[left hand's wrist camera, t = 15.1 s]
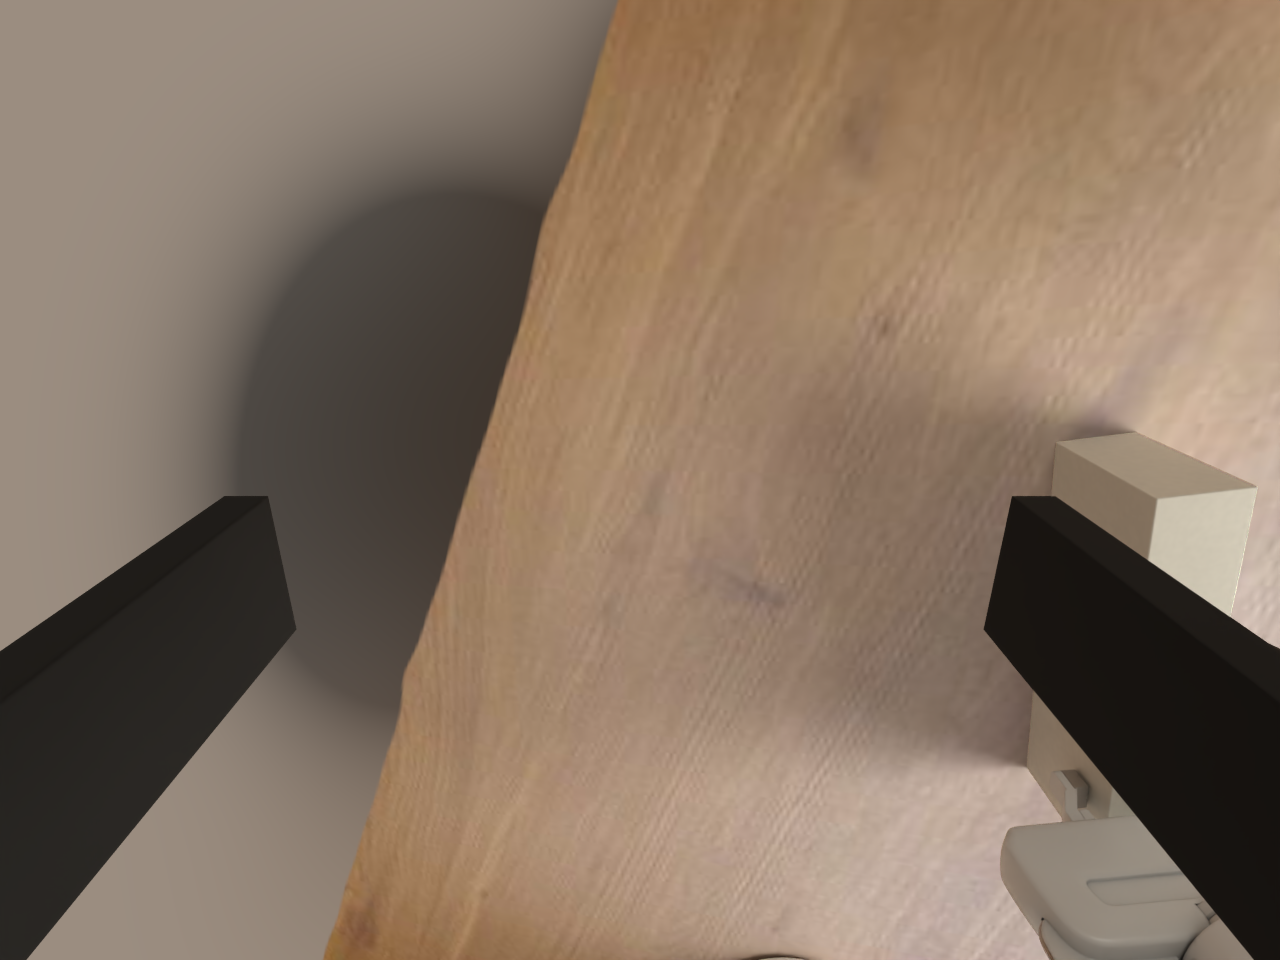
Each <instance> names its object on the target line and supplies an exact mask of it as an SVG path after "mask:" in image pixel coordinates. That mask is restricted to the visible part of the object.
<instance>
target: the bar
mask: <svg viewBox="0 0 1280 960" xmlns="http://www.w3.org/2000/svg"><path fill="white" fill-rule="evenodd" d="M1257 489H1258V487H1257V486H1255V485H1253V484H1251V483H1248V482H1246V481H1244V480H1242V479H1240V478H1237V477H1235V476H1233V475H1231V474H1228V473H1226V472H1224V471H1222V470H1220V469H1217V468H1215V467H1213V466H1211V465H1208V464H1206V463H1204V462H1202V461H1200V460H1197V459H1195V458H1193V457H1191V456H1189V455H1186V454H1184V453H1182V452H1180V451H1177V450H1175V449H1173V448H1171V447H1169V446H1166V445H1164V444H1162V443H1160V442H1157V441H1155V440H1153V439H1151V438H1149V437H1146V436H1144V435H1142V434H1140V433H1138V432H1132V433H1124V434H1116V435H1108V436H1100V437H1092V438H1084V439H1076V440H1067V441H1059V442H1056V446H1055V457H1054V468H1053V479H1052V490H1051V496H1056V497H1057V498H1059V499H1060V500H1062V501H1063V502H1065V503H1066V504H1067V505H1069V506H1070V507H1072V508H1073V509H1075V510H1076V511H1078V512H1079V513H1081V514H1082V515H1083V516H1085V517H1086V518H1088V519H1089V520H1091V521H1092V522H1094V523H1095V524H1096V525H1098V526H1099V527H1101V528H1102V529H1104V530H1105V531H1107V532H1108V533H1109V534H1111V535H1112V536H1114V537H1115V538H1117V539H1118V540H1120V541H1121V542H1122V543H1124V544H1125V545H1127V546H1128V547H1130V548H1131V549H1133V550H1134V551H1135V552H1137V553H1138V554H1140V555H1141V556H1143V557H1144V558H1146V559H1147V560H1148V561H1150V562H1151V563H1153V564H1154V565H1156V566H1157V567H1159V568H1160V569H1161V570H1163V571H1164V572H1166V573H1167V574H1169V575H1170V576H1172V577H1173V578H1174V579H1176V580H1177V581H1179V582H1180V583H1182V584H1183V585H1185V586H1186V587H1188V588H1189V589H1190V590H1192V591H1193V592H1195V593H1196V594H1198V595H1199V596H1201V597H1202V598H1203V599H1205V600H1206V601H1208V602H1209V603H1211V604H1212V605H1214V606H1215V607H1216V608H1218V609H1219V610H1221V611H1222V612H1224V613H1225V614H1227V615H1228V616H1229V617H1231V612H1232V608H1233V603H1234V598H1235V593H1236V589H1237V584H1238V579H1239V574H1240V570H1241V565H1242V560H1243V555H1244V551H1245V546H1246V541H1247V536H1248V532H1249V527H1250V522H1251V517H1252V513H1253V508H1254V503H1255V498H1256V494H1257ZM1026 767H1027V768H1028V770H1029V771H1030V773H1031V774H1032V776H1033V777H1034V778H1035V780H1036V781H1037V783H1038V784H1039V786H1040V787H1041V789H1042V790H1043V791H1044V793H1045V794H1046V796H1047V797H1048V799H1049V800H1050V802H1051V803H1052V804H1053V806H1054V807H1055V809H1056V810H1057V812H1058V813H1059V814H1060V816H1061V817H1062V806H1061V805H1060V803H1059V802H1058V800H1057V799H1056V798H1055V796H1054V795H1053V793H1052V792H1051V789H1050V776H1051V772H1052V771H1061V770H1074V769H1075V770H1076V771H1077V772H1078V773H1079V777H1081V778H1082V779H1084V781H1085V782H1086V783H1087V784H1088V786H1089V794H1088V795H1087V797H1086V798H1087V800H1088V801H1087V807H1086V808H1078V811H1080V809H1087V810H1089V811H1090V812H1091V814H1092V815H1093V816H1094V818H1095V819H1099V818H1110V817H1120V816H1130V815H1135V814H1134V813H1133V812H1132V810H1131V809H1130V808H1129V807H1128V805H1127V804H1126V803H1125V802H1124V800H1123V799H1122V798H1121V797H1120V796H1119V794H1118V793H1117V792H1116V791H1115V789H1114V788H1113V787H1112V786H1111V785H1110V783H1109V782H1108V781H1107V780H1106V778H1105V777H1104V776H1103V775H1102V774H1101V772H1100V771H1099V770H1098V769H1097V767H1096V766H1095V765H1094V764H1093V763H1092V761H1091V760H1090V759H1089V758H1088V756H1087V755H1086V754H1085V753H1084V752H1083V750H1082V749H1081V748H1080V747H1079V745H1078V744H1077V743H1076V742H1075V741H1074V739H1073V738H1072V737H1071V736H1070V734H1069V733H1068V732H1067V731H1066V730H1065V728H1064V727H1063V726H1062V725H1061V723H1060V722H1059V721H1058V720H1057V719H1056V717H1055V716H1054V715H1053V714H1052V712H1051V711H1050V710H1049V709H1048V707H1047V706H1046V705H1045V704H1044V703H1043V701H1042V700H1041V699H1040V698H1039V696H1038V695H1037V694H1036V693H1035V692H1034V690H1033V699H1032V710H1031V721H1030V732H1029V743H1028V754H1027V765H1026Z"/></svg>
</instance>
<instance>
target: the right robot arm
mask: <svg viewBox="0 0 1280 960" xmlns="http://www.w3.org/2000/svg"><path fill="white" fill-rule="evenodd" d="M1050 789H1051V792H1052V793H1053V795H1054V796H1055V798H1056V799H1057V800H1058V802H1059V803H1060V805H1061V806H1062V822H1058V823H1048V824H1037V825H1027V826H1017V827H1012V828H1010V829H1009V830H1008V832H1007V834H1006V836H1005V839H1004V841H1003V845H1002V849H1001V856H1000V871H1001V877H1002V880H1003V882H1004V885H1005V886H1006V888H1007V890H1008V891H1009V893H1010V895H1011V896H1012V898H1013V900H1014V901H1015V903H1016V904H1017V906H1018V907H1019V909H1020V910H1021V912H1022V913H1023V915H1024V916H1025V918H1026V919H1027V921H1028V922H1029V923H1030V925H1031V926H1032V928H1033V929H1034V930H1035V932H1036V933H1037V934H1038V936H1039V939H1040V942H1041V945H1042V947H1043V949H1044V951H1045V953H1046V955H1047V956H1048V958H1049V960H1253V958H1252V957H1251V956H1250V955H1249V953H1248V952H1247V951H1246V950H1245V949H1244V947H1243V946H1242V945H1241V944H1240V942H1239V941H1238V940H1237V939H1236V938H1235V936H1234V935H1233V934H1232V933H1231V931H1230V930H1229V929H1228V928H1227V927H1226V925H1225V924H1224V923H1223V922H1222V920H1221V919H1220V918H1219V917H1218V916H1217V914H1216V913H1215V912H1214V911H1213V909H1212V908H1211V907H1210V906H1209V905H1208V903H1207V902H1206V901H1205V900H1204V898H1203V897H1202V896H1201V895H1200V893H1199V892H1198V891H1197V890H1196V889H1195V887H1194V886H1193V885H1192V884H1191V882H1190V881H1189V880H1188V879H1187V878H1186V876H1185V875H1184V874H1183V873H1182V871H1181V870H1180V869H1179V868H1178V867H1177V865H1176V864H1175V863H1174V862H1173V860H1172V859H1171V858H1170V857H1169V856H1168V854H1167V853H1166V852H1165V851H1164V849H1163V848H1162V847H1161V846H1160V845H1159V843H1158V842H1157V841H1156V840H1155V838H1154V837H1153V836H1152V835H1151V834H1150V832H1149V831H1148V830H1147V829H1146V827H1145V826H1144V825H1143V824H1142V823H1141V821H1140V820H1139V819H1138V818H1137V816H1136V815H1130V816H1120V817H1110V818H1099V819H1095V818H1094V816H1093V815H1092V814H1091V812H1090V811H1089V810H1087V809H1080V811H1078V808H1086V807H1087V801H1088V800H1087V798H1086V797H1087V795H1088V794H1089V786H1088V784H1087V783H1086V782H1085V781H1084V779H1082V778H1081V777H1079V773H1078V772H1077V771H1076V770H1075V769H1074V770H1061V771H1052V772H1051V776H1050ZM760 960H804V959H798V958H767V959H760Z"/></svg>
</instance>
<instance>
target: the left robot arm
mask: <svg viewBox="0 0 1280 960" xmlns="http://www.w3.org/2000/svg"><path fill="white" fill-rule="evenodd" d="M295 630H296V625H295V621H294V616H293V611H292V607H291V602H290V597H289V593H288V588H287V584H286V579H285V574H284V569H283V565H282V560H281V555H280V551H279V546H278V541H277V537H276V532H275V527H274V522H273V518H272V513H271V509H270V504H269V499H268V496H224V497H223V498H221V499H220V500H218V501H217V502H215V503H214V504H212V505H211V506H210V507H208V508H207V509H205V510H204V511H202V512H201V513H200V514H198V515H197V516H195V517H194V518H192V519H191V520H189V521H188V522H186V523H185V524H184V525H182V526H181V527H179V528H178V529H176V530H175V531H174V532H172V533H171V534H169V535H168V536H166V537H165V538H163V539H162V540H160V541H159V542H158V543H156V544H155V545H153V546H152V547H150V548H149V549H147V550H146V551H145V552H143V553H142V554H140V555H139V556H137V557H136V558H134V559H133V560H132V561H130V562H129V563H127V564H126V565H124V566H123V567H121V568H120V569H119V570H117V571H116V572H114V573H113V574H111V575H110V576H108V577H107V578H106V579H104V580H103V581H101V582H100V583H98V584H97V585H95V586H94V587H92V588H91V589H90V590H88V591H87V592H85V593H84V594H82V595H81V596H79V597H78V598H77V599H75V600H74V601H72V602H71V603H69V604H68V605H66V606H65V607H64V608H62V609H61V610H59V611H58V612H56V613H55V614H53V615H52V616H51V617H49V618H48V619H46V620H45V621H43V622H42V623H40V624H39V625H38V626H36V627H35V628H33V629H32V630H30V631H29V632H27V633H26V634H25V635H23V636H22V637H20V638H19V639H17V640H16V641H14V642H13V643H12V644H10V645H9V646H7V647H6V648H4V649H3V650H1V651H0V960H27V958H28V957H29V956H30V955H31V953H32V952H33V951H34V950H35V949H36V947H37V946H38V945H39V944H40V942H41V941H42V940H43V939H44V938H45V936H46V935H47V934H48V933H49V931H50V930H51V929H52V928H53V927H54V925H55V924H56V923H57V922H58V920H59V919H60V918H61V917H62V916H63V914H64V913H65V912H66V911H67V909H68V908H69V907H70V906H71V905H72V903H73V902H74V901H75V900H76V898H77V897H78V896H79V895H80V893H81V892H82V891H83V890H84V889H85V887H86V886H87V885H88V884H89V882H90V881H91V880H92V879H93V878H94V876H95V875H96V874H97V873H98V871H99V870H100V869H101V868H102V867H103V865H104V864H105V863H106V862H107V860H108V859H109V858H110V857H111V856H112V854H113V853H114V852H115V851H116V849H117V848H118V847H119V846H120V845H121V843H122V842H123V841H124V840H125V838H126V837H127V836H128V835H129V833H130V832H131V831H132V830H133V829H134V827H135V826H136V825H137V824H138V823H139V821H140V820H141V819H142V817H143V816H144V815H145V814H146V813H147V812H148V810H149V809H150V808H151V807H152V805H153V804H154V803H155V802H156V800H157V799H158V798H159V797H160V796H161V794H162V793H163V792H164V791H165V789H166V788H167V787H168V786H169V785H170V783H171V782H172V781H173V780H174V778H175V777H176V776H177V775H178V774H179V772H180V771H181V770H182V769H183V767H184V766H185V765H186V764H187V762H188V761H189V760H190V759H191V758H192V756H193V755H194V754H195V753H196V752H197V750H198V749H199V748H200V747H201V745H202V744H203V743H204V742H205V741H206V739H207V738H208V737H209V736H210V734H211V733H212V732H213V731H214V729H215V728H216V727H217V726H218V725H219V723H220V722H221V721H222V720H223V718H224V717H225V716H226V715H227V714H228V712H229V711H230V710H231V709H232V707H233V706H234V705H235V704H236V703H237V701H238V700H239V699H240V698H241V696H242V695H243V694H244V693H245V692H246V690H247V689H248V688H249V687H250V685H251V684H252V683H253V682H254V681H255V679H256V678H257V677H258V676H259V674H260V673H261V672H262V671H263V670H264V668H265V667H266V666H267V665H268V663H269V662H270V661H271V660H272V659H273V657H274V656H275V655H276V654H277V652H278V651H279V650H280V649H281V647H282V646H283V645H284V644H285V643H286V641H287V640H288V639H289V638H290V636H291V635H292V634H293V633H294V632H295ZM984 630H985V632H986V633H987V634H988V635H989V637H990V638H991V639H992V640H993V641H994V643H995V644H996V645H997V646H998V648H999V649H1000V650H1001V651H1002V652H1003V654H1004V655H1005V656H1006V657H1007V659H1008V660H1009V661H1010V662H1011V663H1012V665H1013V666H1014V667H1015V668H1016V670H1017V671H1018V672H1019V673H1020V674H1021V676H1022V677H1023V678H1024V679H1025V681H1026V682H1027V683H1028V684H1029V685H1030V687H1031V688H1032V689H1033V690H1034V692H1035V693H1036V694H1037V695H1038V696H1039V698H1040V699H1041V700H1042V701H1043V703H1044V704H1045V705H1046V706H1047V707H1048V709H1049V710H1050V711H1051V712H1052V714H1053V715H1054V716H1055V717H1056V719H1057V720H1058V721H1059V722H1060V723H1061V725H1062V726H1063V727H1064V728H1065V730H1066V731H1067V732H1068V733H1069V734H1070V736H1071V737H1072V738H1073V739H1074V741H1075V742H1076V743H1077V744H1078V745H1079V747H1080V748H1081V749H1082V750H1083V752H1084V753H1085V754H1086V755H1087V756H1088V758H1089V759H1090V760H1091V761H1092V763H1093V764H1094V765H1095V766H1096V767H1097V769H1098V770H1099V771H1100V772H1101V774H1102V775H1103V776H1104V777H1105V778H1106V780H1107V781H1108V782H1109V783H1110V785H1111V786H1112V787H1113V788H1114V789H1115V791H1116V792H1117V793H1118V794H1119V796H1120V797H1121V798H1122V799H1123V800H1124V802H1125V803H1126V804H1127V805H1128V807H1129V808H1130V809H1131V810H1132V812H1133V813H1134V814H1135V815H1136V816H1137V818H1138V819H1139V820H1140V821H1141V823H1142V824H1143V825H1144V826H1145V827H1146V829H1147V830H1148V831H1149V832H1150V834H1151V835H1152V836H1153V837H1154V838H1155V840H1156V841H1157V842H1158V843H1159V845H1160V846H1161V847H1162V848H1163V849H1164V851H1165V852H1166V853H1167V854H1168V856H1169V857H1170V858H1171V859H1172V860H1173V862H1174V863H1175V864H1176V865H1177V867H1178V868H1179V869H1180V870H1181V871H1182V873H1183V874H1184V875H1185V876H1186V878H1187V879H1188V880H1189V881H1190V882H1191V884H1192V885H1193V886H1194V887H1195V889H1196V890H1197V891H1198V892H1199V893H1200V895H1201V896H1202V897H1203V898H1204V900H1205V901H1206V902H1207V903H1208V905H1209V906H1210V907H1211V908H1212V909H1213V911H1214V912H1215V913H1216V914H1217V916H1218V917H1219V918H1220V919H1221V920H1222V922H1223V923H1224V924H1225V925H1226V927H1227V928H1228V929H1229V930H1230V931H1231V933H1232V934H1233V935H1234V936H1235V938H1236V939H1237V940H1238V941H1239V942H1240V944H1241V945H1242V946H1243V947H1244V949H1245V950H1246V951H1247V952H1248V953H1249V955H1250V956H1251V957H1252V958H1253V960H1280V649H1279V648H1277V647H1275V646H1273V645H1271V644H1269V643H1267V642H1266V641H1264V640H1263V639H1261V638H1260V637H1258V636H1257V635H1255V634H1254V633H1253V632H1251V631H1250V630H1248V629H1247V628H1245V627H1244V626H1242V625H1241V624H1240V623H1238V622H1237V621H1235V620H1234V619H1232V618H1231V617H1229V616H1228V615H1227V614H1225V613H1224V612H1222V611H1221V610H1219V609H1218V608H1216V607H1215V606H1214V605H1212V604H1211V603H1209V602H1208V601H1206V600H1205V599H1203V598H1202V597H1201V596H1199V595H1198V594H1196V593H1195V592H1193V591H1192V590H1190V589H1189V588H1188V587H1186V586H1185V585H1183V584H1182V583H1180V582H1179V581H1177V580H1176V579H1174V578H1173V577H1172V576H1170V575H1169V574H1167V573H1166V572H1164V571H1163V570H1161V569H1160V568H1159V567H1157V566H1156V565H1154V564H1153V563H1151V562H1150V561H1148V560H1147V559H1146V558H1144V557H1143V556H1141V555H1140V554H1138V553H1137V552H1135V551H1134V550H1133V549H1131V548H1130V547H1128V546H1127V545H1125V544H1124V543H1122V542H1121V541H1120V540H1118V539H1117V538H1115V537H1114V536H1112V535H1111V534H1109V533H1108V532H1107V531H1105V530H1104V529H1102V528H1101V527H1099V526H1098V525H1096V524H1095V523H1094V522H1092V521H1091V520H1089V519H1088V518H1086V517H1085V516H1083V515H1082V514H1081V513H1079V512H1078V511H1076V510H1075V509H1073V508H1072V507H1070V506H1069V505H1067V504H1066V503H1065V502H1063V501H1062V500H1060V499H1059V498H1057V497H1056V496H1012V499H1011V504H1010V508H1009V513H1008V518H1007V522H1006V527H1005V532H1004V537H1003V541H1002V546H1001V551H1000V555H999V560H998V565H997V569H996V574H995V579H994V583H993V588H992V593H991V597H990V602H989V607H988V611H987V616H986V621H985V625H984Z"/></svg>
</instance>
